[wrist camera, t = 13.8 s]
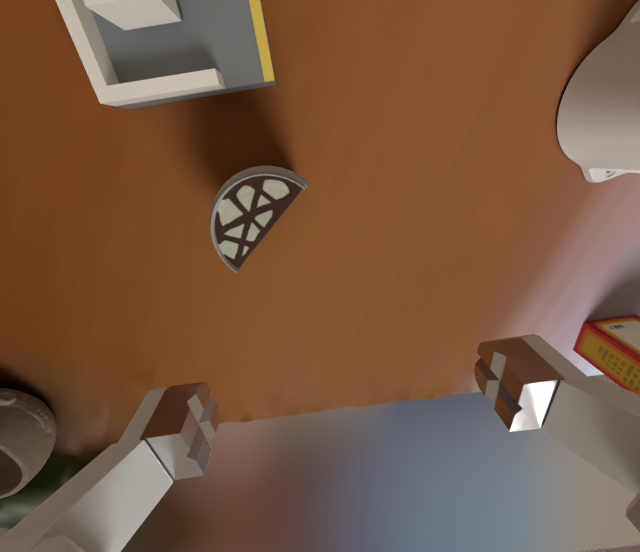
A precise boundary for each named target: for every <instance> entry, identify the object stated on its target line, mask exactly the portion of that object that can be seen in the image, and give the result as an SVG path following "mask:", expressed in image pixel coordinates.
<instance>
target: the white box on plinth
mask: <svg viewBox="0 0 640 552" xmlns="http://www.w3.org/2000/svg"><path fill="white" fill-rule="evenodd" d="M83 1H84V3H85V6H86V7H88V8H89V9H91V10H92V11H94V12H96V13H97V14H99V15H100V16H102V17H104V18H105V19H107V20H109V21H110V22H112V23H113V24H115V25H117V26H118V27H120V28H121V29H123V30H130V29H136V28H142V27H148V26H155V25H161V24H167V23H173V22H179V21H181V20H183V13H182V10H181V6H180V3H179V1H178V0H83Z"/></svg>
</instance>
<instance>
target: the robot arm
mask: <svg viewBox="0 0 640 552" xmlns="http://www.w3.org/2000/svg"><path fill="white" fill-rule="evenodd" d="M557 135H558V140H559V143H560V146H561V148H562V150H563V151H564V153H565V154H566V155H567V156H568V157H569V158H570V159H571V160H573V161H574V162H576V163H577V164H578V165H579V166H580V167H581V169H582V172H583V175H584V177H585V179H586V180H587V181H588V182H602V181H604V180H607V179H610V178H613V177H616V176H619V175H622V174H624V173H627V172H632V173H640V0H639V1H638V2H637V3H636V4H635V5H634V6H633V7H632V9H631V10H630V11H629V12H628V14H627V15H626V17H625V18H624V19H623V21H622V22H621V24H620V25H619V27H618V28H617V29H616V30H615V31H614V32H613V33H612V34H611V35H610V36H609V37H607V38H606V39H605V40H604V41H603V42H601V43H600V44H599V45H598V46H597V47H596V48H595V49H594V50H593V51H592V52H591V53H590V54H589V55H588V56H587V57H586V58H585V59H584V61H583V62H582V63H581V65H580V66H579V67H578V69H577V70H576V72H575V73H574V75H573V77H572V78H571V80H570V82H569V84H568V86H567V88H566V90H565V92H564V95H563V98H562V100H561V104H560V107H559V112H558V118H557ZM477 353H478V354H479V355H480V357H481V358H480V359H479V360H478V361H477V362H476V363H475V370H474V373H475V378H476V382H477V384H478V386H479V388H480V390H481V391H482V393H483V394H484V396H486V397H487V398H489V399H491V400H492V401H494V402H495V406H494V410H495V411H496V413H497V414H498V415H499V417H500V418H501V420H502V421H503V423H504V424H505V425H506V427H507V428H508V430H509V431H520V430H529V429H538V428H542V430H543V431H544V432H546V433H547V434H549V435H550V436H552V437H553V438H554V439H556V440H557V441H559V442H560V443H562V444H563V445H565V446H566V447H567V448H569V449H570V450H572V451H573V452H575V453H576V454H578V455H579V456H580V457H582V458H583V459H585V460H586V461H588V462H589V463H590V464H592V465H593V466H595V467H596V468H598V469H599V470H601V471H602V472H603V473H605V474H606V475H608V476H609V477H611V478H612V479H614V480H615V481H616V482H618V483H619V484H621V485H622V486H624V487H625V488H626V489H628V490H629V491H631V492H632V493H634V494H635V495H636V497H635V498H634V499H633V500H632V502H631V503H630V504H629V505H628V507H627V508H626V516H627V517H628V519H629V520H630V521H631V522H632V523H633V525H634V526H635V527H636V528H637V529H638V531H639V532H640V395H639V394H636V393H634V392H631V391H629V390H626V389H624V388H622V387H619V386H617V385H614V384H612V383H609V382H607V381H604V380H602V379H600V378H597V377H595V376H588V377H587V376H586V375H585V374H584V373H583V372H581V371H580V370H579V369H578V368H577V367H575V366H574V365H573V364H572V363H571V362H569V361H568V360H567V359H566V358H565V357H564V356H562V355H561V354H560V353H559V352H558V351H556V350H555V349H554V348H553V347H552V346H551V345H549V344H548V343H547V342H546V341H545V340H543V339H542V338H541V337H540V336H537V335H535V334H531V335H525V336H518V337H512V338H505V339H499V340H492V341H486V342H481V343H480V345H479V346H478V351H477ZM210 391H211V390H210V388H209V386H208V385H207V383H205V382H200V383H192V384H183V385H175V386H169V387H160V388H153V389H152V390H150V391H149V392H148V393H147V395H146V396H145V398H144V400H143V401H142V403H141V405H140V407H139V408H138V410H137V412H136V413H135V415H134V417H133V418H132V420H131V422H130V423H129V425H128V427H127V428H126V430H125V432H124V434H123V435H122V437H121V439H120V440H119V442H118V443H117V444H112V445H111V446H109V447H108V448H107V449H106V450H105V451H103V452H102V453H101V454H100V455H99V456H98V457H96V458H95V459H94V460H93V461H92V462H90V463H89V464H88V465H87V466H86V467H84V468H83V469H82V470H81V471H80V472H79V473H77V474H76V475H75V476H74V477H73V478H71V479H70V480H69V481H68V482H67V483H65V484H64V485H63V486H62V487H61V488H60V489H58V490H57V491H56V492H55V493H54V494H52V495H51V496H50V497H49V498H48V499H46V500H45V501H44V502H43V503H42V504H41V505H39V506H38V507H37V508H36V509H35V510H33V511H32V512H31V513H30V514H29V515H27V516H26V517H25V518H24V519H23V520H22V521H20V522H19V523H18V524H17V525H16V526H14V527H13V528H12V529H11V530H10V531H9V532H7V533H6V534H5V535H4V536H3V537H2V538H0V552H120V551H121V550H122V549H123V547H124V546H125V545H126V544H127V542H128V541H129V539H130V538H131V537H132V536H133V534H134V533H135V532H136V530H137V529H138V528H139V527H140V525H141V524H142V523H143V521H144V520H145V519H146V517H147V516H148V515H149V513H150V512H151V511H152V510H153V508H154V507H155V506H156V504H157V503H158V502H159V500H160V499H161V498H162V496H163V495H164V494H165V493H166V491H167V490H168V489H169V487H170V486H171V485H172V483H173V481H172V480H177V479H184V478H190V477H195V476H201V475H204V474H205V470H206V467H207V464H208V460H209V457H210V453H211V448H210V446H209V443H208V442H209V441H210V440H211V439H212V438H213V437H214V436H215V435H216V432H217V428H218V421H219V412H218V406H217V404H216V402H215V400H213V399H212V398H210V397H208V396H209V393H210ZM581 552H640V543H638V544H631V545H625V546H617V547H610V548H603V549H595V550H589V551H581Z"/></svg>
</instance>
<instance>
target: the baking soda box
mask: <svg viewBox="0 0 640 552" xmlns="http://www.w3.org/2000/svg"><path fill="white" fill-rule="evenodd" d="M573 350H574V351H575V352H576V353H578V354H579V355H580V356H582V357H583V358H584V359H585V360H587V361H588V362H589V363H591V364H592V365H593V366H594V367H596V368H597V369H598V370H600V371H601V372H602V373H604V374H605V375H606V376H607V377H609V378H610V379H611V380H613V381H614V382H615V383H617V384H618V385H619V386H620V387H622V388H624V389H626V390H629V391H631V392H634V393H636V394H639V395H640V317H639V316H637V315H629V316H622V317H615V318H608V319H601V320H594V321H587V322H584V323H583V326H582V328H581V331H580V333H579V336H578V338H577V341H576V344H575V346H574V349H573Z"/></svg>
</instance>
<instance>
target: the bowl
mask: <svg viewBox="0 0 640 552" xmlns="http://www.w3.org/2000/svg"><path fill="white" fill-rule="evenodd" d="M56 430H57V427H56V422H55V419H54V416H53V413H52V412H51V410H50V409H49V408H48V407H47V405H46V404H45V403H44V402H42V401H41V400H39V399H38V398H36V397H34V396H32V395H30V394H28V393H25V392H22V391H18V390H15V389H7V388H0V499H1V498H4V497H7V496H10V495H12V494H14V493H16V492H18V491H19V490H20V489H21V488H23V487H24V486H25V485H26V484H27V483H28V482H29V481H30V480H31V479H32V478H33V477H34V476H35V475H36V474H37V473H38V472H39V471H40V469H41V468H42V467H43V465H44V464H45V462H46V461H47V459H48V458H49V456H50V454H51V452H52V449H53V447H54V444H55V439H56Z"/></svg>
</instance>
